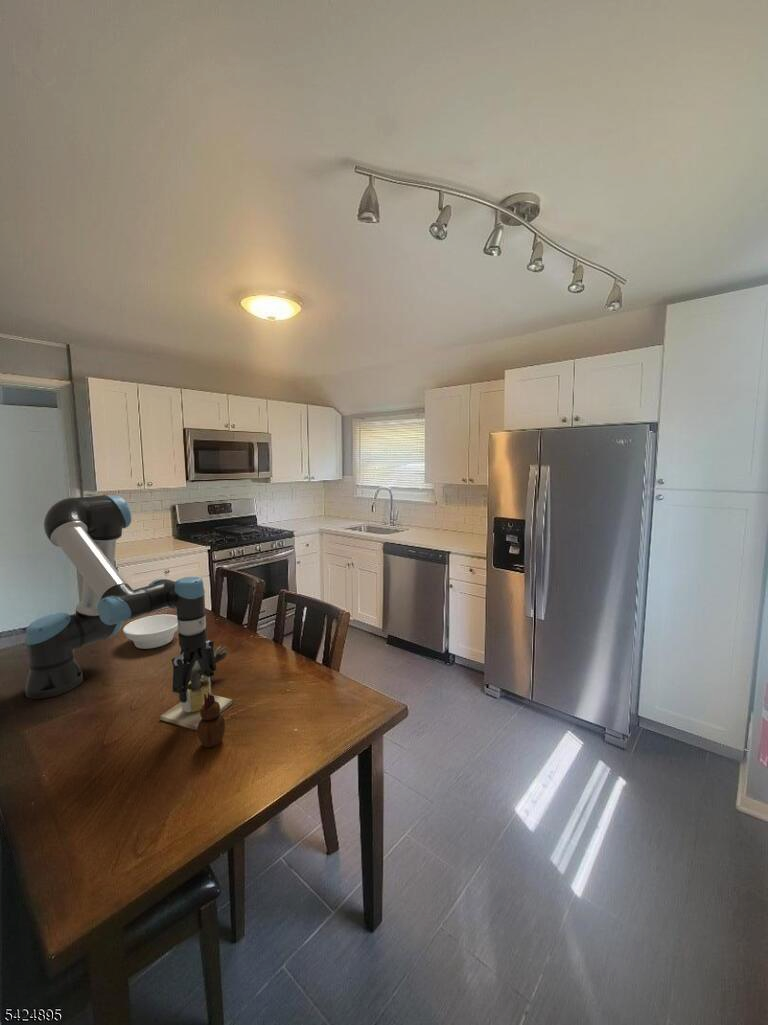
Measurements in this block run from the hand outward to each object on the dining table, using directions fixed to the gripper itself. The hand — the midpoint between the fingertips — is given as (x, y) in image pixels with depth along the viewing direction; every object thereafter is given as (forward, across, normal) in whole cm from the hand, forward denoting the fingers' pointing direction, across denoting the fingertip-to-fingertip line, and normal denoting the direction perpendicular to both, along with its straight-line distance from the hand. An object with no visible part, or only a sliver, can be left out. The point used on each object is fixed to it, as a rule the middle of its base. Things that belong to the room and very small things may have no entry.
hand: (197, 703), depth 126 cm
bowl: (+3, +30, +53) cm, 61 cm away
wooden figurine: (+3, -10, -14) cm, 18 cm away
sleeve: (0, 0, 0) cm, 0 cm away
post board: (+3, 0, 0) cm, 3 cm away
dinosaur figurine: (+3, +10, +9) cm, 14 cm away
